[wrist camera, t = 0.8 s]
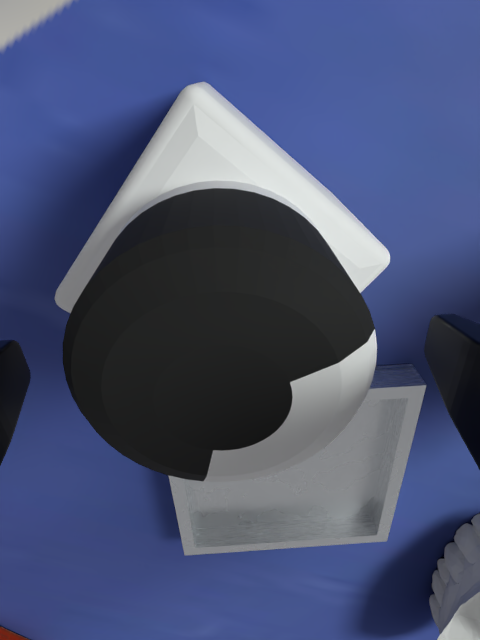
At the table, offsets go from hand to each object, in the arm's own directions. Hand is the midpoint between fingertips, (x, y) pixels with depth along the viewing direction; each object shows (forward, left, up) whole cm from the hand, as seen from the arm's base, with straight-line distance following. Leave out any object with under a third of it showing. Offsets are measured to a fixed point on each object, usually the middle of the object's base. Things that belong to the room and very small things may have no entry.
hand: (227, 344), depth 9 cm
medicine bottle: (0, 0, -10) cm, 10 cm away
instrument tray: (-3, +16, -10) cm, 19 cm away
